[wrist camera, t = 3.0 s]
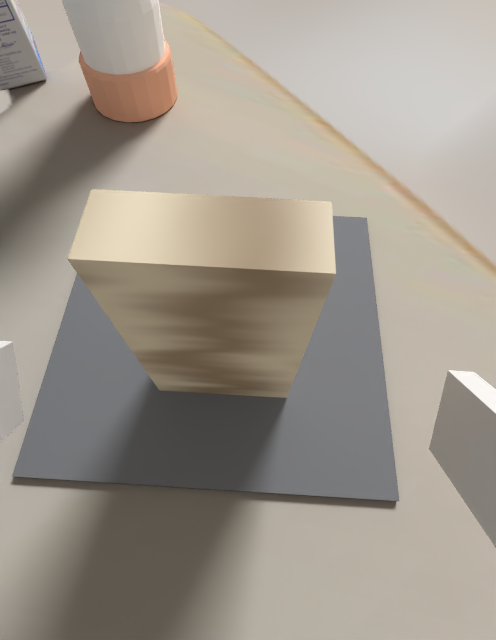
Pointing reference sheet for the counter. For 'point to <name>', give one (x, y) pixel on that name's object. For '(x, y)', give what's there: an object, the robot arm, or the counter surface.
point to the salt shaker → (124, 57)
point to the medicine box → (17, 49)
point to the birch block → (209, 284)
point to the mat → (223, 407)
